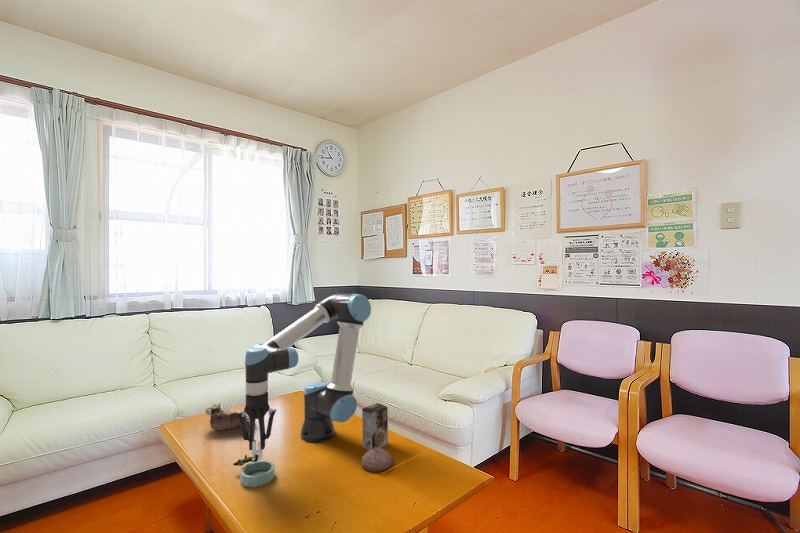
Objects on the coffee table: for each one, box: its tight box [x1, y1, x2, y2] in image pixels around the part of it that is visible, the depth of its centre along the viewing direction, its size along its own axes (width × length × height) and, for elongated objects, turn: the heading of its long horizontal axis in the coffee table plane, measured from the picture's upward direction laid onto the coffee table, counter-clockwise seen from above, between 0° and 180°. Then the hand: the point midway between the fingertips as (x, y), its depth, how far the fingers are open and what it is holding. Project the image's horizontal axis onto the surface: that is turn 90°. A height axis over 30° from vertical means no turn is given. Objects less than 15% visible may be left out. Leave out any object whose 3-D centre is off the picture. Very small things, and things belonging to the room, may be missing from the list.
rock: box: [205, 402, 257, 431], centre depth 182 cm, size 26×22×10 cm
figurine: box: [232, 449, 259, 467], centre depth 139 cm, size 6×4×12 cm
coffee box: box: [361, 402, 389, 451], centre depth 160 cm, size 9×6×16 cm
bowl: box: [239, 459, 276, 488], centre depth 136 cm, size 11×11×4 cm
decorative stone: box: [360, 447, 394, 473], centre depth 144 cm, size 12×12×6 cm
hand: (257, 458), depth 136 cm, fingers closed on figurine
